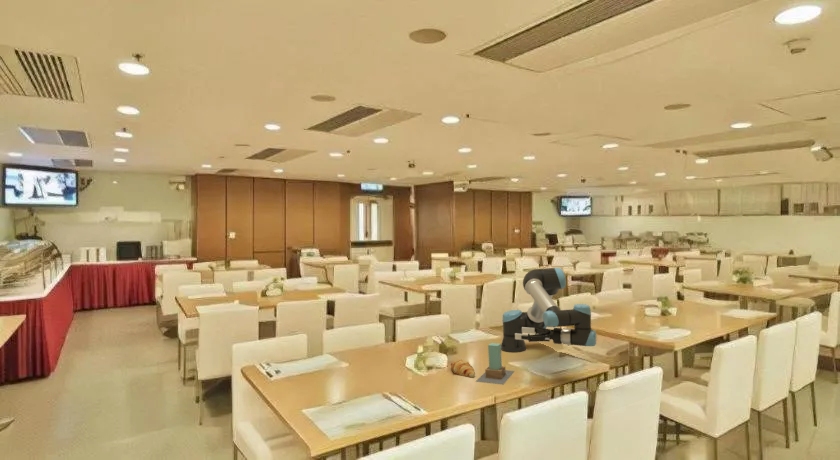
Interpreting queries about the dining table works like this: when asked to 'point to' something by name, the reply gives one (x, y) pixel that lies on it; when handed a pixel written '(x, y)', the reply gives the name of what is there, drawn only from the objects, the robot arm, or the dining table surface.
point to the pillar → (495, 356)
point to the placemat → (495, 381)
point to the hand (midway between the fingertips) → (518, 332)
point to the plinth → (495, 373)
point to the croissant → (462, 368)
